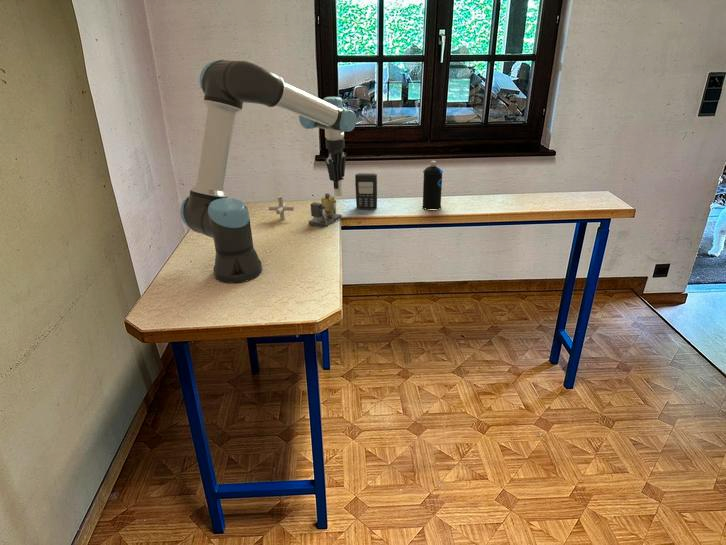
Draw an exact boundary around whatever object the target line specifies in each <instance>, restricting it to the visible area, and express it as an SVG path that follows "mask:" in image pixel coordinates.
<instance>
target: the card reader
mask: <svg viewBox="0 0 726 545" xmlns="http://www.w3.org/2000/svg"><path fill="white" fill-rule="evenodd" d="M354 175H355V176H354V177H355V178H354V179H355V184H354V186H355V203H356V209H358V210H359V208H360V210H364V209H365V210H376V209H378V174H377V173H356V174H354Z"/></svg>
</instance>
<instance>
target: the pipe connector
mask: <svg viewBox="0 0 726 545" xmlns="http://www.w3.org/2000/svg"><path fill="white" fill-rule="evenodd" d="M277 200H278V205H269V206H268V211H274V212H275V213H276V215H279V219H280V220H279V221H280V222H281V221H285V220H286V218H285V211H288V212H290V211H295V207H294V205H289V206H288V205H287V202H284V198H283V196H282V195H279V196H277Z"/></svg>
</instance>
